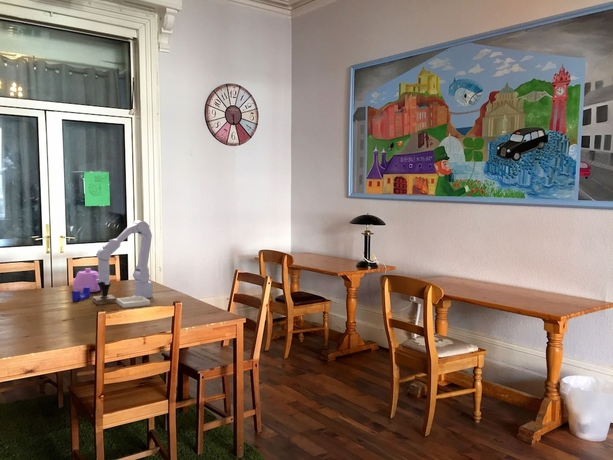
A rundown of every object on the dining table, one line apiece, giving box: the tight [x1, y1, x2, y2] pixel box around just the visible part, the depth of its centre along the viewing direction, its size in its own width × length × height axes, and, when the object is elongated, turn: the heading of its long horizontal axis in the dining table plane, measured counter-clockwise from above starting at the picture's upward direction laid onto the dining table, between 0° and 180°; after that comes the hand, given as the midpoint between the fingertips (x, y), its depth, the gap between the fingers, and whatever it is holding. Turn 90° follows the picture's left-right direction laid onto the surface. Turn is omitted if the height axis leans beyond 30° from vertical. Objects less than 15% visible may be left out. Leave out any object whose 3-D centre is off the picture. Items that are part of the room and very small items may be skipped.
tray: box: [116, 296, 151, 309], centre depth 290 cm, size 14×14×2 cm
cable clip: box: [71, 287, 91, 302], centre depth 300 cm, size 12×4×6 cm, turn 169°
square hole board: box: [92, 294, 117, 306], centre depth 294 cm, size 10×10×2 cm
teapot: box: [72, 267, 101, 293], centre depth 323 cm, size 22×22×14 cm
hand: (104, 295), depth 294 cm, fingers closed on steel pin, 3 cm apart
